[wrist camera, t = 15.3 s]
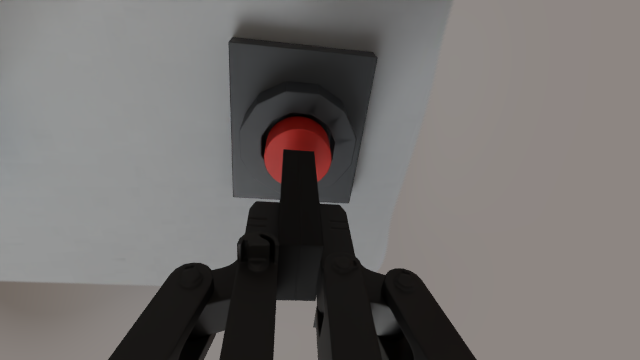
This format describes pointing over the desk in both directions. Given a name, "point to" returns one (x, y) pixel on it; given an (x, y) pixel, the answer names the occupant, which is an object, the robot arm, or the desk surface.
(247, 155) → the button box
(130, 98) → the desk surface
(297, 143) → the button
